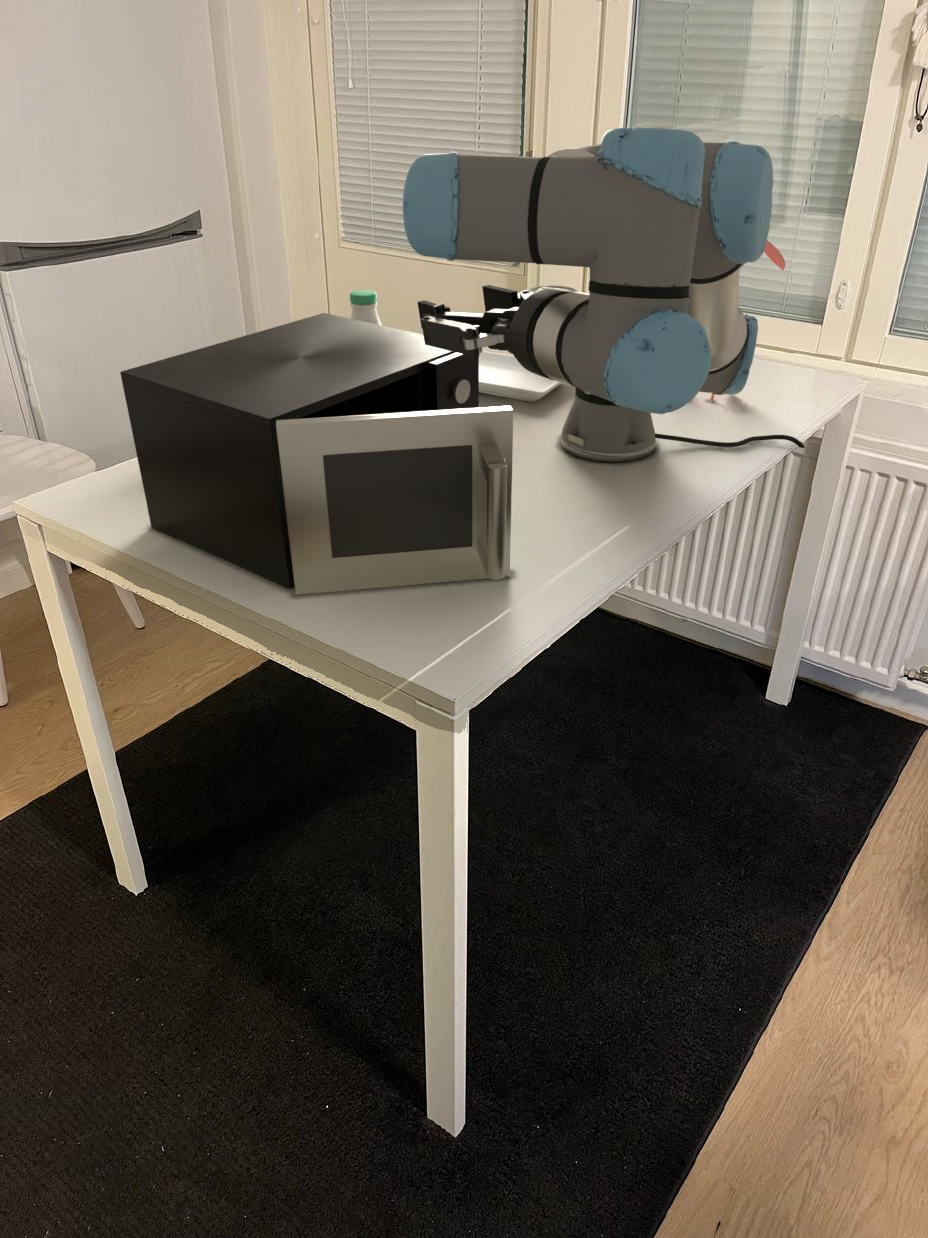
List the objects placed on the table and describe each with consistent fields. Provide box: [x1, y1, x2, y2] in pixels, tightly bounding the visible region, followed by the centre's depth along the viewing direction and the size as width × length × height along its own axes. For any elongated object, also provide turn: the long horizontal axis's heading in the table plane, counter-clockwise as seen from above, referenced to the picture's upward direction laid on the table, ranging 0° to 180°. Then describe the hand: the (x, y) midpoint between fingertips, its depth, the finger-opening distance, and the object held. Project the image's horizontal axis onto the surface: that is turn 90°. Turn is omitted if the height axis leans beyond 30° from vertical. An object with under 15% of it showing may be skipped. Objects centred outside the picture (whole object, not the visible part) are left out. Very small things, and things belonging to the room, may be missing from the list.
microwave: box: [119, 312, 480, 591], centre depth 130 cm, size 30×36×22 cm
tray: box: [479, 350, 562, 403], centre depth 183 cm, size 17×31×4 cm, turn 60°
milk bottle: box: [349, 289, 383, 326], centre depth 168 cm, size 8×8×20 cm
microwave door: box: [276, 405, 514, 596], centre depth 110 cm, size 9×27×22 cm, turn 99°
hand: (455, 306), depth 101 cm, fingers open, 7 cm apart
